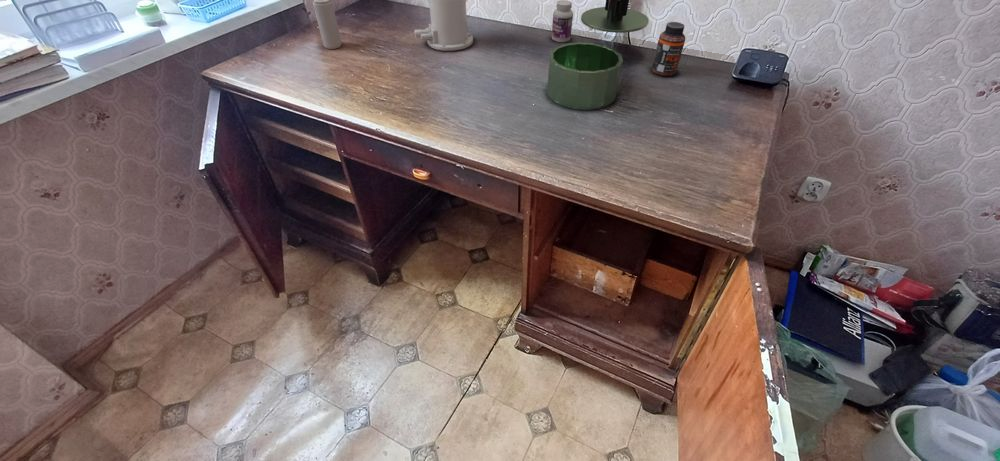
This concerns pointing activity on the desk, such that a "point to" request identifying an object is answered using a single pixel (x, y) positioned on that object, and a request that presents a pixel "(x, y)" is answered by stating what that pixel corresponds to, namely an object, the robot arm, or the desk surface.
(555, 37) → the pill bottle
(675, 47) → the supplement bottle
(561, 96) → the waste tin
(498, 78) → the desk surface
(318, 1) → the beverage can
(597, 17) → the tin lid
